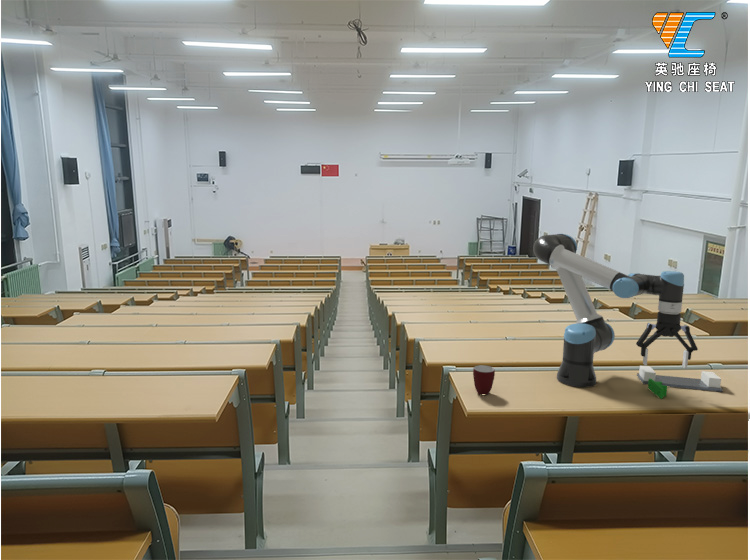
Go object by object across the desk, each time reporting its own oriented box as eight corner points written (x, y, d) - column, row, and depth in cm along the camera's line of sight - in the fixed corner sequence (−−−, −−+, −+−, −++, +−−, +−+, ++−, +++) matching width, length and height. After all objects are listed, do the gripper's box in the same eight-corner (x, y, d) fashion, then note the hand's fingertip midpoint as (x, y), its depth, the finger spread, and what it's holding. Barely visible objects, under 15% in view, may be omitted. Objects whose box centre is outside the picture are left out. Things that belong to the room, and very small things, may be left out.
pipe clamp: (669, 399, 178) (671, 389, 177) (660, 399, 178) (661, 388, 177) (656, 389, 188) (658, 378, 187) (647, 388, 188) (648, 378, 188)
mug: (466, 387, 188) (467, 363, 186) (485, 386, 189) (486, 362, 188) (477, 398, 178) (478, 373, 176) (497, 396, 179) (498, 371, 178)
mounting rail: (643, 384, 193) (644, 372, 192) (636, 375, 202) (637, 364, 201) (722, 391, 185) (723, 379, 184) (711, 382, 194) (713, 371, 194)
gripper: (635, 312, 178) (630, 366, 181) (711, 316, 171) (705, 372, 174) (630, 308, 185) (626, 360, 188) (703, 311, 178) (697, 365, 181)
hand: (664, 366), depth 181 cm, fingers open, 13 cm apart
